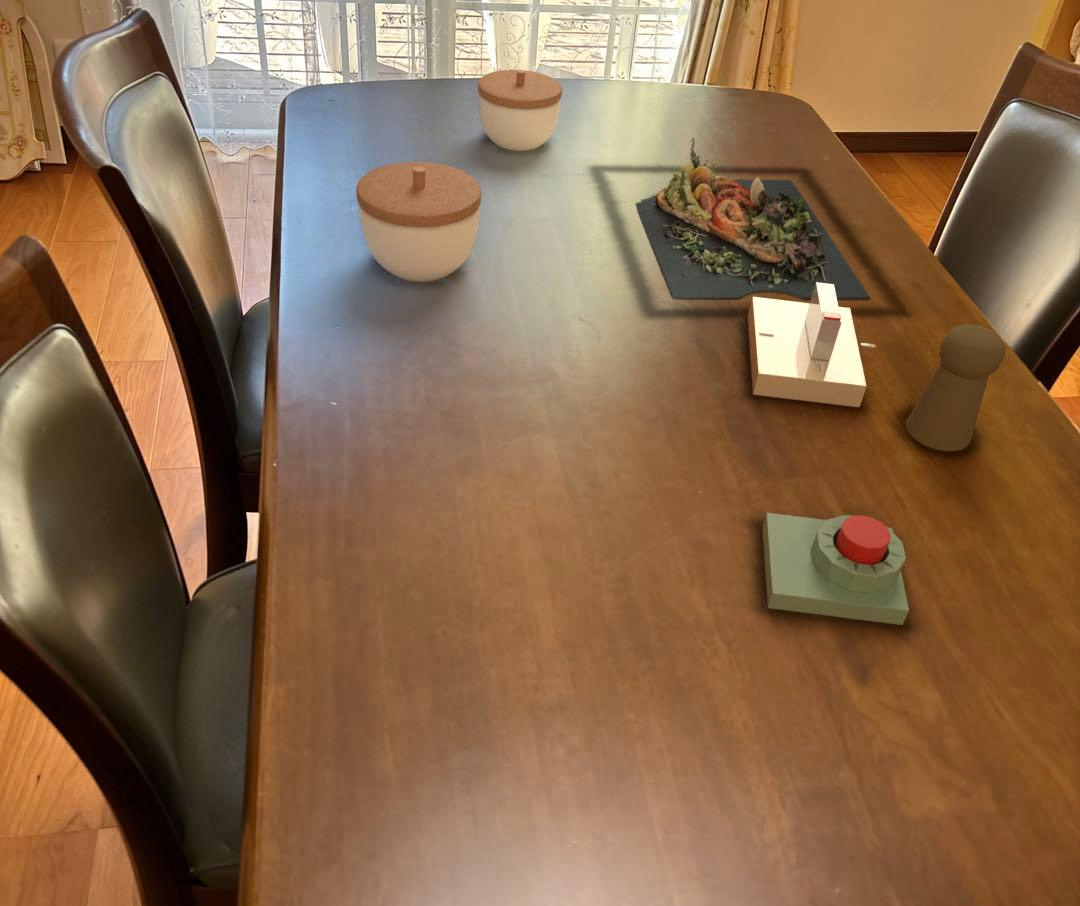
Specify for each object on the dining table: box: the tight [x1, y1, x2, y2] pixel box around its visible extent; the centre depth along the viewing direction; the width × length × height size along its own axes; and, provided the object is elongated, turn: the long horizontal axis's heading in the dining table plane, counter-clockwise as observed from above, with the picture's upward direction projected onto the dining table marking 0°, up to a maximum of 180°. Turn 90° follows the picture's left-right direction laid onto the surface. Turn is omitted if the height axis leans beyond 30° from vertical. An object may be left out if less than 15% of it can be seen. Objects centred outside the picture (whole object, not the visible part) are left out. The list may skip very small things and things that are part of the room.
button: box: [836, 515, 891, 565], centre depth 76 cm, size 4×4×2 cm
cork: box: [905, 323, 1006, 452], centre depth 90 cm, size 6×6×11 cm
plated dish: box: [634, 137, 871, 301], centre depth 117 cm, size 35×28×7 cm
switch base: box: [747, 296, 876, 408], centre depth 100 cm, size 12×14×3 cm
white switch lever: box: [805, 282, 842, 360], centre depth 98 cm, size 7×2×4 cm, turn 174°
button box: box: [761, 512, 910, 626], centre depth 78 cm, size 10×9×4 cm
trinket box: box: [477, 69, 563, 152], centre depth 132 cm, size 11×11×9 cm
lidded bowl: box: [356, 161, 482, 282], centre depth 106 cm, size 13×13×11 cm
